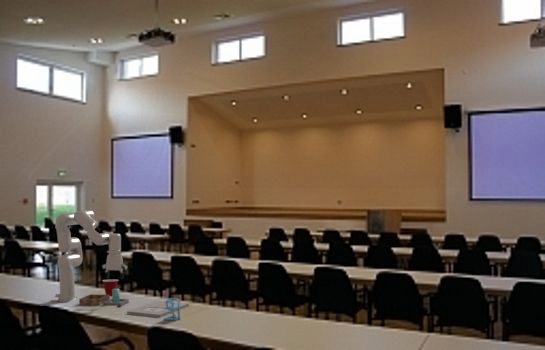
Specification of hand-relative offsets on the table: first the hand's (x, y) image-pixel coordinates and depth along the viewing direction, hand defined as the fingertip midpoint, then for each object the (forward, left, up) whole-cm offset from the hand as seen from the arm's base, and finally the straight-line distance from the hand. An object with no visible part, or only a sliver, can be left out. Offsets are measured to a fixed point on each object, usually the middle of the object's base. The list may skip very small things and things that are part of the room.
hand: (114, 278), depth 345 cm
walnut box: (-14, 0, -17) cm, 22 cm away
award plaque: (+35, -12, -18) cm, 41 cm away
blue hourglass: (+52, -33, -17) cm, 64 cm away
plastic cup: (-14, +23, -17) cm, 32 cm away
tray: (+1, 0, -17) cm, 17 cm away
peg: (+1, 0, -16) cm, 16 cm away
